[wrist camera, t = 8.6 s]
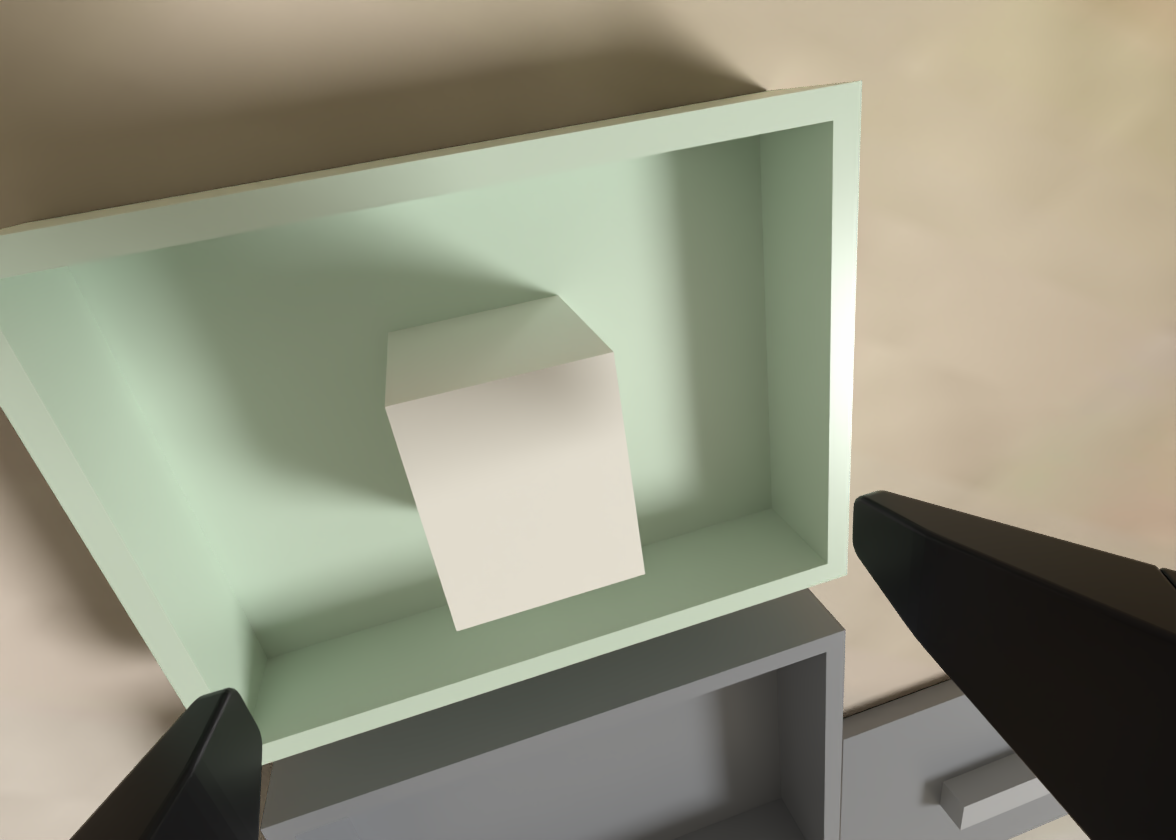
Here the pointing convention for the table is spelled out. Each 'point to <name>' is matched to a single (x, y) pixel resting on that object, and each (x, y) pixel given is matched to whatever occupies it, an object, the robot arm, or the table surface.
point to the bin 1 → (358, 381)
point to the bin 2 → (605, 747)
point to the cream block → (514, 456)
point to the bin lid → (935, 774)
